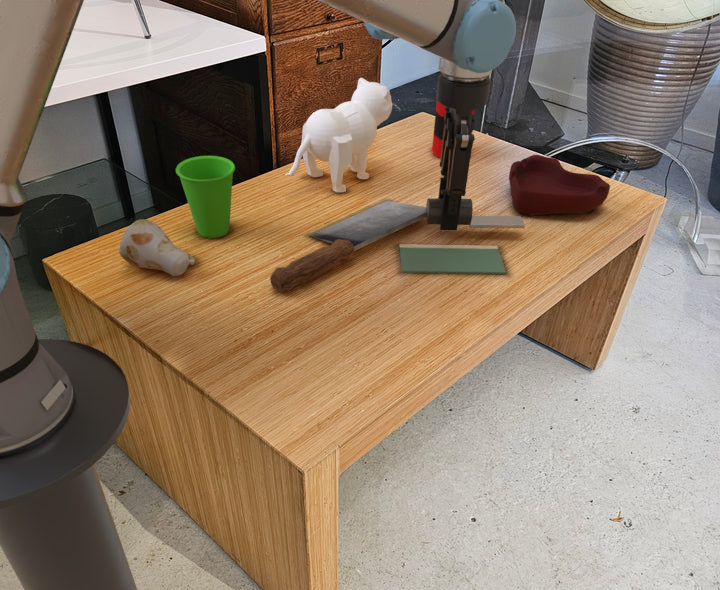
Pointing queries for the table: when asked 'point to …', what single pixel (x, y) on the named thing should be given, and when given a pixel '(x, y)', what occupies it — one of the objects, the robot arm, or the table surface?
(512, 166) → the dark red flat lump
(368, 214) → the meat cleaver
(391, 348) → the table surface
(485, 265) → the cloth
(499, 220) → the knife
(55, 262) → the table surface
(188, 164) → the cup
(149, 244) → the pale spotted pear
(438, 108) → the soda can
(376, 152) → the table surface
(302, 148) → the cat figurine
